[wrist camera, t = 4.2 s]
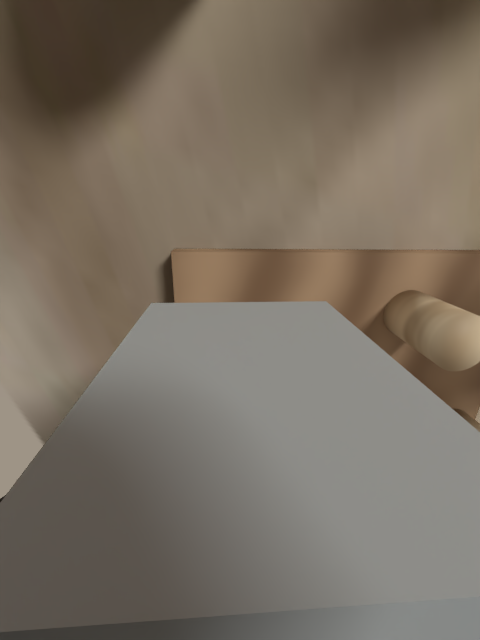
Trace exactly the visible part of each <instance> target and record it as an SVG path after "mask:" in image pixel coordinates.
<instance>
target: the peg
mask: <svg viewBox="0 0 480 640" xmlns="http://www.w3.org/2000/svg"><path fill="white" fill-rule="evenodd" d="M383 318H384V323H385V326H386V327H387V329H388V330H389V331H391V332H392V333H393V334H395V335H396V336H398V337H399V338H400V339H402V340H403V341H405V342H406V343H407V344H409V345H410V346H411V347H413V348H414V349H416V350H417V351H418V352H420V353H421V354H422V355H424V356H425V357H427V358H428V359H429V360H431V361H432V362H434V363H435V364H436V365H438V366H439V367H440V368H442V369H444V370H447V371H462V370H466V369H468V368H471V367H472V366H474V365H476V364H477V363H479V362H480V316H478V315H476V314H473V313H471V312H468V311H466V310H464V309H461V308H459V307H456V306H454V305H451V304H449V303H447V302H444V301H442V300H439V299H437V298H434V297H432V296H430V295H427V294H425V293H422V292H420V291H417V290H407V291H403V292H401V293H399V294H397V295H396V296H394V297H393V298H392V299H391V300H390V301H389V303H388V304H387V306H386V308H385V310H384V316H383Z"/></svg>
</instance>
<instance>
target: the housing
mask: <svg viewBox="0 0 480 640" xmlns="http://www.w3.org/2000/svg"><path fill="white" fill-rule="evenodd" d="M0 640H480V432H479V431H478V430H477V429H475V428H474V427H473V426H472V425H471V424H470V423H468V422H467V421H466V420H465V419H464V418H462V417H461V416H460V415H459V414H458V413H457V412H455V411H454V410H453V409H452V408H451V407H450V406H448V405H447V404H446V403H445V402H444V401H443V400H441V399H440V398H439V397H438V396H437V395H435V394H434V393H433V392H432V391H431V390H430V389H428V388H427V387H426V386H425V385H424V384H423V383H421V382H420V381H419V380H418V379H417V378H416V377H414V376H413V375H412V374H411V373H410V372H408V371H407V370H406V369H405V368H404V367H403V366H401V365H400V364H399V363H398V362H397V361H396V360H394V359H393V358H392V357H391V356H390V355H389V354H387V353H386V352H385V351H384V350H383V349H381V348H380V347H379V346H378V345H377V344H376V343H374V342H373V341H372V340H371V339H370V338H369V337H367V336H366V335H365V334H364V333H363V332H362V331H360V330H359V329H358V328H357V327H356V326H354V325H353V324H352V323H351V322H350V321H349V320H347V319H346V318H345V317H344V316H343V315H342V314H340V313H339V312H338V311H337V310H336V309H335V308H333V307H332V306H331V305H330V304H329V303H327V302H326V301H304V302H209V303H151V304H150V306H149V307H148V308H147V310H146V311H145V312H144V313H143V315H142V316H141V317H140V319H139V320H138V321H137V323H136V324H135V325H134V327H133V328H132V329H131V331H130V332H129V333H128V335H127V336H126V337H125V339H124V340H123V341H122V343H121V344H120V345H119V347H118V348H117V349H116V350H115V352H114V353H113V354H112V356H111V357H110V358H109V360H108V361H107V362H106V364H105V365H104V366H103V368H102V369H101V370H100V372H99V373H98V374H97V376H96V377H95V378H94V380H93V381H92V382H91V384H90V385H89V386H88V387H87V389H86V390H85V391H84V393H83V394H82V395H81V397H80V398H79V399H78V401H77V402H76V403H75V405H74V406H73V407H72V409H71V410H70V411H69V413H68V414H67V415H66V417H65V418H64V419H63V421H62V422H61V423H60V424H59V426H58V427H57V428H56V430H55V431H54V432H53V434H52V435H51V436H50V438H49V439H48V440H47V442H46V443H45V444H44V446H43V447H42V448H41V450H40V451H39V452H38V454H37V455H36V456H35V458H34V459H33V460H32V462H31V463H30V464H29V465H28V467H27V468H26V470H25V471H24V472H23V473H22V475H21V476H20V478H19V479H18V480H17V481H16V483H15V484H14V485H13V487H12V488H11V489H10V491H9V492H8V493H7V495H6V496H5V497H4V498H3V500H2V501H1V502H0Z"/></svg>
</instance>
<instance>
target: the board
mask: <svg viewBox="0 0 480 640" xmlns="http://www.w3.org/2000/svg"><path fill="white" fill-rule="evenodd" d="M171 259H172V274H173V288H174V303H209V302H304V301H326V302H327V303H329V304H330V305H331V306H332V307H333V308H335V309H336V310H337V311H338V312H339V313H340V314H342V315H343V316H344V317H345V318H346V319H347V320H349V321H350V322H351V323H352V324H353V325H354V326H356V327H357V328H358V329H359V330H360V331H362V332H363V333H364V334H365V335H366V336H367V337H369V338H370V339H371V340H372V341H373V342H374V343H376V344H377V345H378V346H379V347H380V348H381V349H383V350H384V351H385V352H386V353H387V354H389V355H390V356H391V357H392V358H393V359H394V360H396V361H397V362H398V363H399V364H400V365H401V366H403V367H404V368H405V369H406V370H407V371H408V372H410V373H411V374H412V375H413V376H414V377H416V378H417V379H418V380H419V381H420V382H421V383H423V384H424V385H425V386H426V387H427V388H428V389H430V390H431V391H432V392H433V393H434V394H435V395H437V396H438V397H439V398H440V399H441V400H443V401H444V402H445V403H446V404H447V405H448V406H450V407H451V408H452V409H461V410H463V411H465V412H466V413H467V414H468V415H470V416H471V417H472V418H473V419H474V420H475V418H476V415H477V412H478V409H479V407H480V362H479V363H477V364H476V365H474V366H472V367H471V368H468V369H466V370H462V371H447V370H444V369H442V368H440V367H439V366H438V365H436V364H435V363H434V362H432V361H431V360H429V359H428V358H427V357H425V356H424V355H422V354H421V353H420V352H418V351H417V350H416V349H414V348H413V347H411V346H410V345H409V344H407V343H406V342H405V341H403V340H402V339H400V338H399V337H398V336H396V335H395V334H393V333H392V332H391V331H389V330H388V329H387V327H386V326H385V323H384V318H383V316H384V310H385V308H386V306H387V304H388V303H389V301H390V300H391V299H392V298H393V297H394V296H396V295H397V294H399V293H401V292H403V291H407V290H417V291H420V292H422V293H425V294H427V295H430V296H432V297H434V298H437V299H439V300H442V301H444V302H447V303H449V304H451V305H454V306H456V307H459V308H461V309H464V310H466V311H468V312H471V313H473V314H476V315H478V316H480V250H334V249H174V250H173V251H171Z"/></svg>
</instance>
